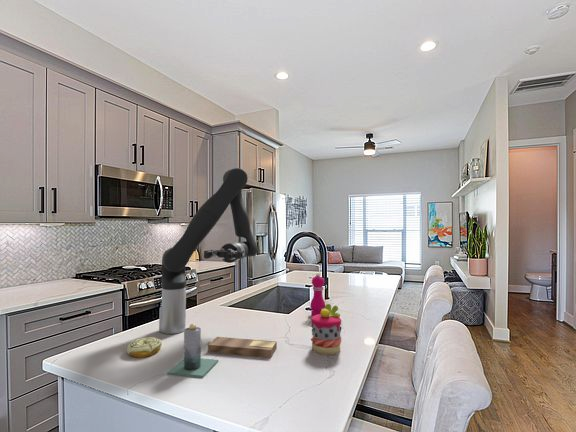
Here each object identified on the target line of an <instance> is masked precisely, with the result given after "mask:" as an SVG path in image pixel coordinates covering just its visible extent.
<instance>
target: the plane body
mask: <svg viewBox="0 0 576 432" xmlns="http://www.w3.org/2000/svg"><path fill="white" fill-rule="evenodd" d="M277 344H278V343H277V341H276V340H263V339H252V338H251V339H250V338H238V337H237V338H236V337H227V336H226V337H225V336H216V337H215V338H214V339H213V340H211V341H210V342H209V343H208V344H207V353H213V354H223V355H224V354H226V355H235V356H236V355H237V356H247V357H258V358H270V359H271V358H273V355H274V353H275V352H276V351H277V347H278V346H277Z"/></svg>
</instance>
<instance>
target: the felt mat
mask: <svg viewBox="0 0 576 432" xmlns="http://www.w3.org/2000/svg"><path fill="white" fill-rule="evenodd" d="M218 363H219V359H215V358H213V359H212V358H202V357H201V366H200V368H198V369H195V370H185V369H184V358H183V359H182V360H180V361H179V362H177V363H176V364H175V365H174V366H173V367H172V368H171V369H169V370H168V371H167V375H169V376H170V375H173V376H181V377H191V378H199V379H200V378H201V379H202V378H203V379H204V377H206V375H207V374H208V373H209V372H211V370H212V369H213V368H214V367H215V366H216V365H217V364H218Z"/></svg>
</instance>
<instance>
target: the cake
mask: <svg viewBox="0 0 576 432" xmlns="http://www.w3.org/2000/svg"><path fill="white" fill-rule="evenodd" d="M338 310H339V307H338V305H333V306H332V305H331V304H330V303H327V304H326V303H325V309H324V308H322V309H321V314H318V315H315V316H311V335H312V337H311V338H310V341H311V350H312V351H313V352H314V353H315V354H318V355H323V356H332V355H333V356H334V355H336V354H339V353H340V352H341V344H342V337H341V333H342V326H341V325H342V319H341V314H340V313H338V312H337V311H338Z"/></svg>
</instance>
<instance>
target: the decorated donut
mask: <svg viewBox="0 0 576 432" xmlns="http://www.w3.org/2000/svg"><path fill="white" fill-rule="evenodd" d="M161 347H162V340H161V339H160V338H157V337H151V336H150V337H140V338H136V339H134V340H132V341H130V342H129V344H128V345H127V348H126V352H127V354H129V355H130V356H132V357H134V358H139V359H141V358H147V357H150V356H152V355H155V354H156V353H158V352H159V351H160V350H161Z"/></svg>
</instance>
